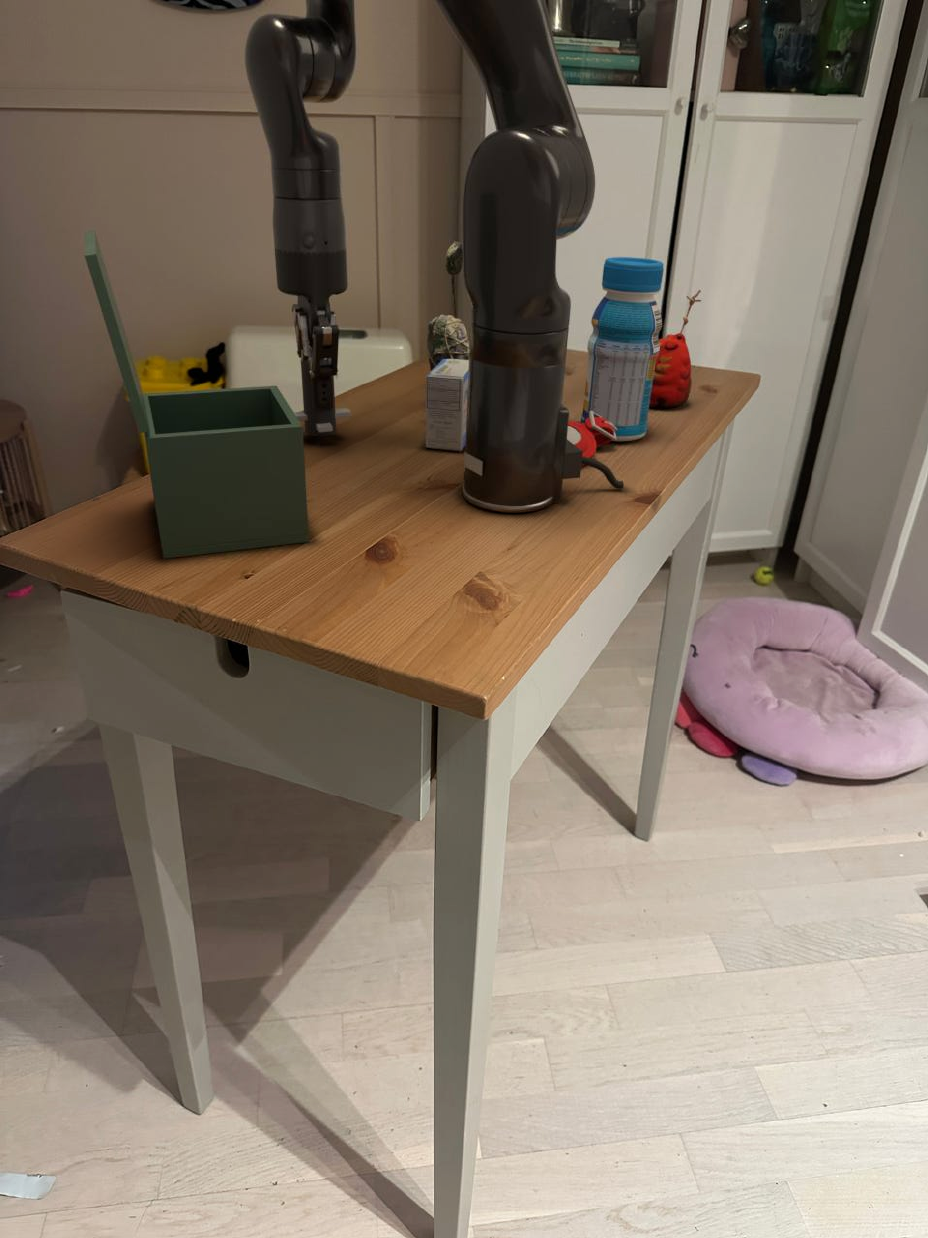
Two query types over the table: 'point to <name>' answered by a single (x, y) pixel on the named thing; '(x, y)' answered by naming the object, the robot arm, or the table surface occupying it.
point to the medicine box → (447, 405)
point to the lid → (115, 329)
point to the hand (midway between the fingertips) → (319, 404)
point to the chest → (226, 470)
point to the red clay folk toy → (672, 369)
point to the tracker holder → (591, 434)
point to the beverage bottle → (624, 345)
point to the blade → (314, 420)
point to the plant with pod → (449, 321)
